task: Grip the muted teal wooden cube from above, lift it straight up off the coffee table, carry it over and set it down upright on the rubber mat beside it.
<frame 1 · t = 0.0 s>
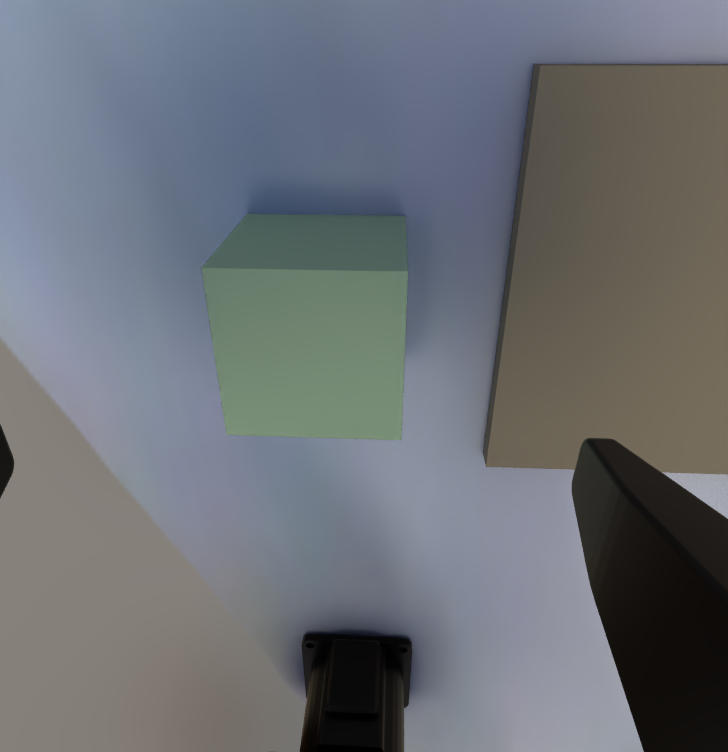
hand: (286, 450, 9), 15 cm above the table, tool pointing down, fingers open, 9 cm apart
mat: (710, 296, 23), on the table
cube: (328, 288, 23), on the table
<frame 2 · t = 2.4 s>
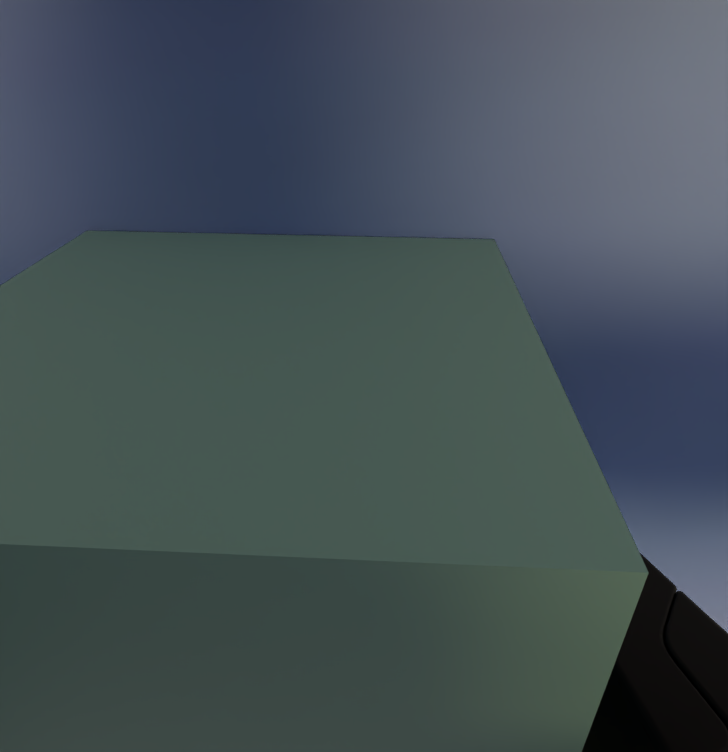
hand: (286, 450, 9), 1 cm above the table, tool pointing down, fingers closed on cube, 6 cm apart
cube: (298, 405, 10), on the table, touching gripper
when the fingers open (4 cm above the table, at t = 7.4 s): cube drops 1 cm, resting on mat.
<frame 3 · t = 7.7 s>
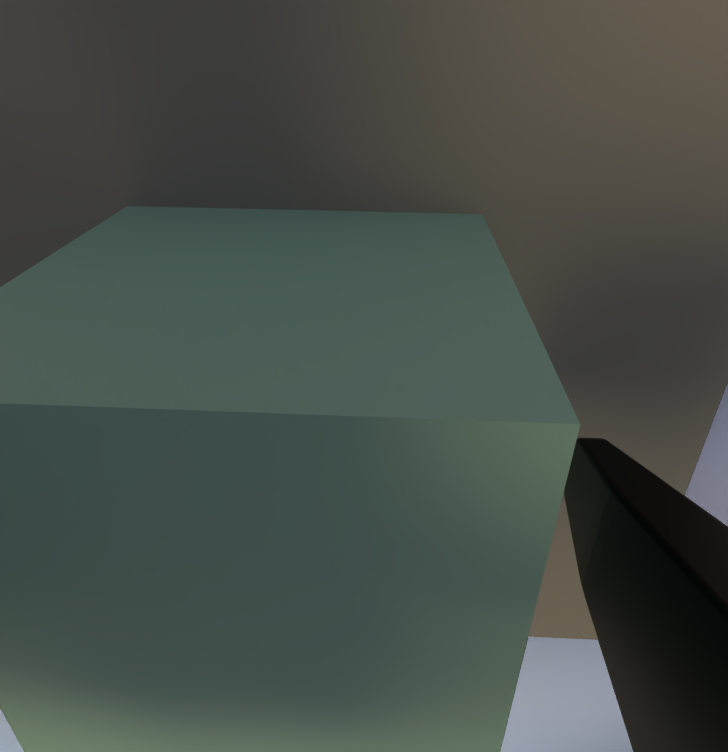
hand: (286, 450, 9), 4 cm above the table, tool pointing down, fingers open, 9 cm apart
mat: (314, 339, 12), on the table
cube: (309, 365, 11), point 1 cm above the table, touching mat
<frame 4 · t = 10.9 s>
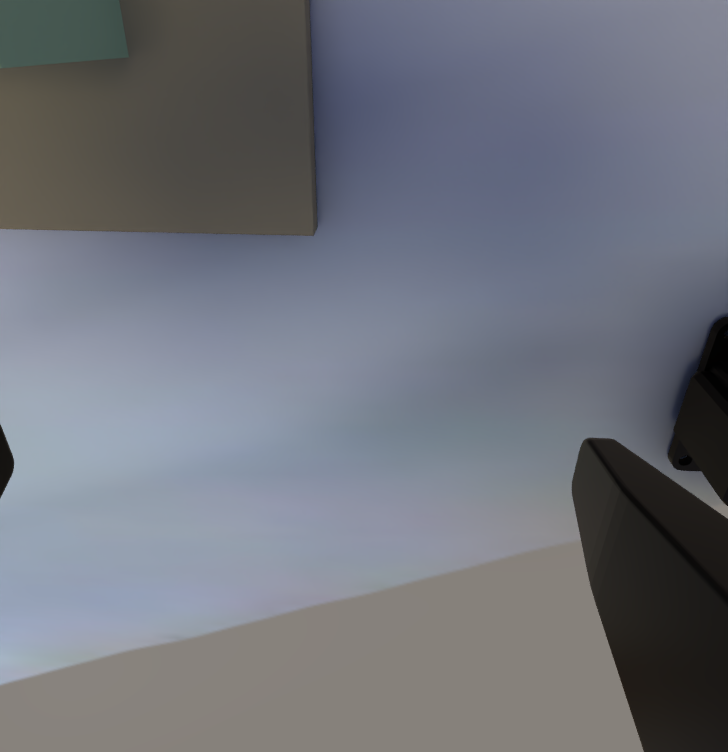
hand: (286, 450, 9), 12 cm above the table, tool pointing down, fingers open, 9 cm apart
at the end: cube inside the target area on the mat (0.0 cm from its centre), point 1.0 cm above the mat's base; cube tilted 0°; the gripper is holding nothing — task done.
